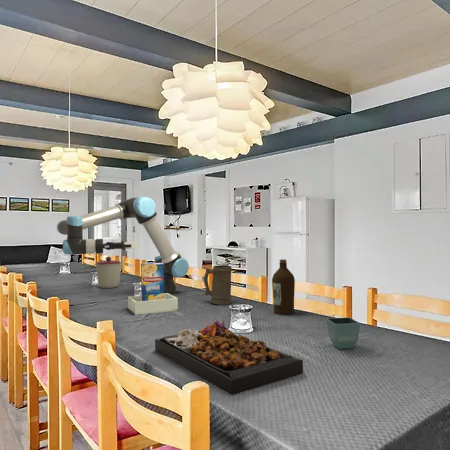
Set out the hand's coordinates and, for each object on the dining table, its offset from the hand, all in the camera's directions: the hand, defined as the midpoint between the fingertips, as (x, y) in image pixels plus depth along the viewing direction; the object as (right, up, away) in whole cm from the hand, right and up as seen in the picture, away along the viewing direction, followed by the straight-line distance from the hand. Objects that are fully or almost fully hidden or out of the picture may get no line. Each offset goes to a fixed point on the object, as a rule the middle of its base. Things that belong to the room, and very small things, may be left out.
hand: (137, 244), depth 216 cm
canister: (-33, -32, +64) cm, 79 cm away
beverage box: (+10, -31, -11) cm, 35 cm away
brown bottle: (+74, -31, -24) cm, 84 cm away
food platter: (+46, -32, -90) cm, 106 cm away
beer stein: (+43, -31, +1) cm, 53 cm away
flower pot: (+87, -31, -78) cm, 120 cm away
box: (+10, -32, -11) cm, 35 cm away
